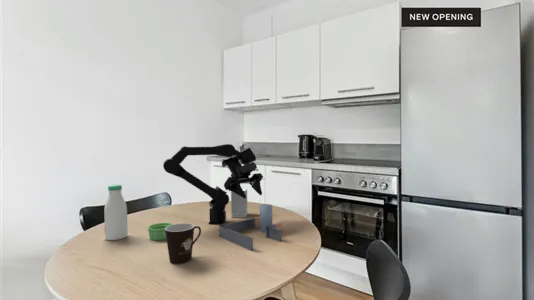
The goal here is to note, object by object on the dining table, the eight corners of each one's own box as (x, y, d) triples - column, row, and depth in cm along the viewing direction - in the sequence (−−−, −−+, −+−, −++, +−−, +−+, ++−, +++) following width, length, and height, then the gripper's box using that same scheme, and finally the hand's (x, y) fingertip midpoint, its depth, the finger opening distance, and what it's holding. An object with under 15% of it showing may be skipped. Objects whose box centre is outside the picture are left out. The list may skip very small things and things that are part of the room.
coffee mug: (168, 268, 83) (167, 233, 83) (163, 257, 90) (162, 225, 90) (208, 259, 88) (207, 227, 88) (200, 250, 96) (200, 220, 96)
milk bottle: (132, 235, 113) (130, 184, 112) (114, 241, 106) (112, 187, 105) (118, 233, 116) (117, 183, 115) (100, 239, 109) (98, 186, 108)
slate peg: (260, 232, 114) (259, 207, 114) (260, 228, 119) (259, 204, 119) (272, 232, 114) (272, 206, 114) (272, 228, 119) (272, 204, 119)
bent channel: (251, 250, 95) (250, 238, 95) (219, 236, 110) (218, 225, 110) (293, 236, 108) (293, 226, 108) (259, 225, 123) (259, 216, 123)
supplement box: (246, 217, 137) (246, 190, 136) (231, 217, 137) (230, 191, 137) (248, 213, 144) (247, 188, 144) (233, 213, 144) (232, 188, 144)
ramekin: (143, 237, 110) (143, 226, 110) (166, 232, 117) (165, 221, 117) (155, 243, 104) (154, 230, 104) (177, 236, 111) (177, 225, 111)
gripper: (227, 157, 119) (245, 187, 112) (259, 155, 133) (278, 181, 125) (216, 175, 125) (233, 204, 118) (248, 171, 138) (265, 197, 131)
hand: (253, 196), depth 123 cm, fingers open, 9 cm apart
